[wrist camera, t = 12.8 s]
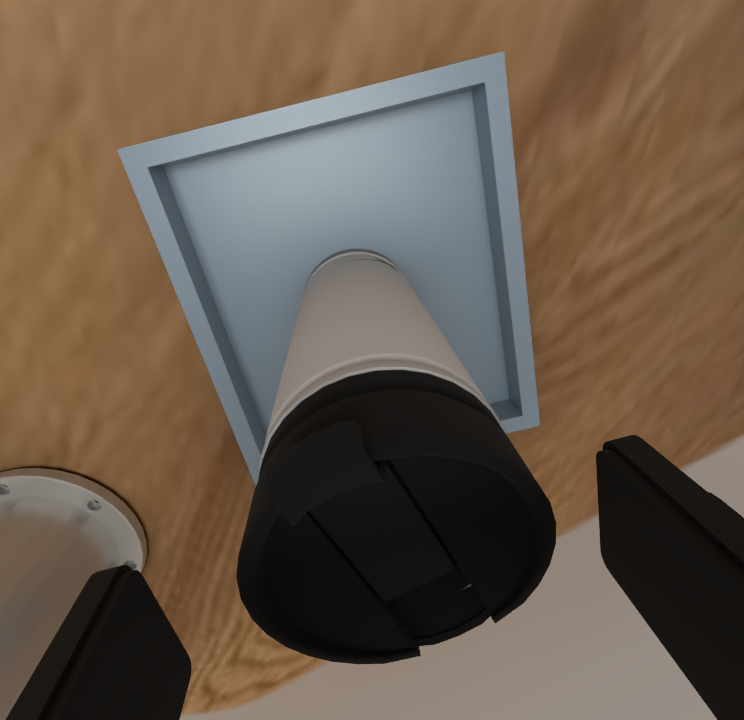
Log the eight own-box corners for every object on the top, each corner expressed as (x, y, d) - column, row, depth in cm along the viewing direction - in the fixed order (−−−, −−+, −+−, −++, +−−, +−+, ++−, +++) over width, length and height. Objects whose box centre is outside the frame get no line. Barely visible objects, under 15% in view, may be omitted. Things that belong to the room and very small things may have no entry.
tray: (521, 402, 31) (539, 425, 28) (265, 464, 31) (258, 492, 28) (483, 65, 23) (503, 51, 20) (142, 152, 23) (117, 149, 21)
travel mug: (376, 221, 25) (494, 364, 6) (427, 321, 27) (619, 633, 9) (278, 277, 26) (135, 547, 7) (337, 369, 28) (342, 748, 10)
